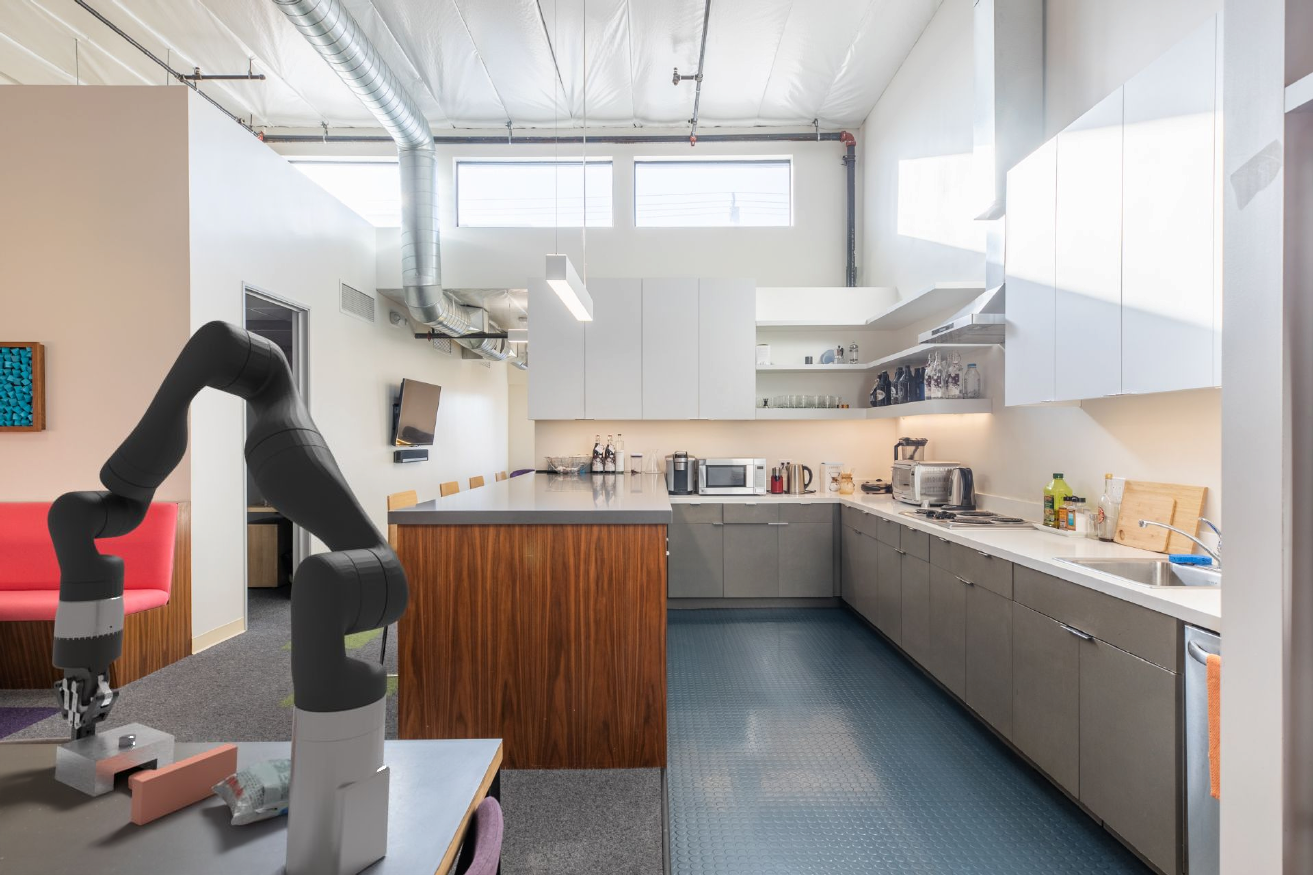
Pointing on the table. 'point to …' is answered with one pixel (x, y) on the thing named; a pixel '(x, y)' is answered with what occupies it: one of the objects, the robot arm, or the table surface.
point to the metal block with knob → (111, 756)
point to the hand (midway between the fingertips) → (81, 751)
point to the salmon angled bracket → (179, 783)
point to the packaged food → (257, 791)
